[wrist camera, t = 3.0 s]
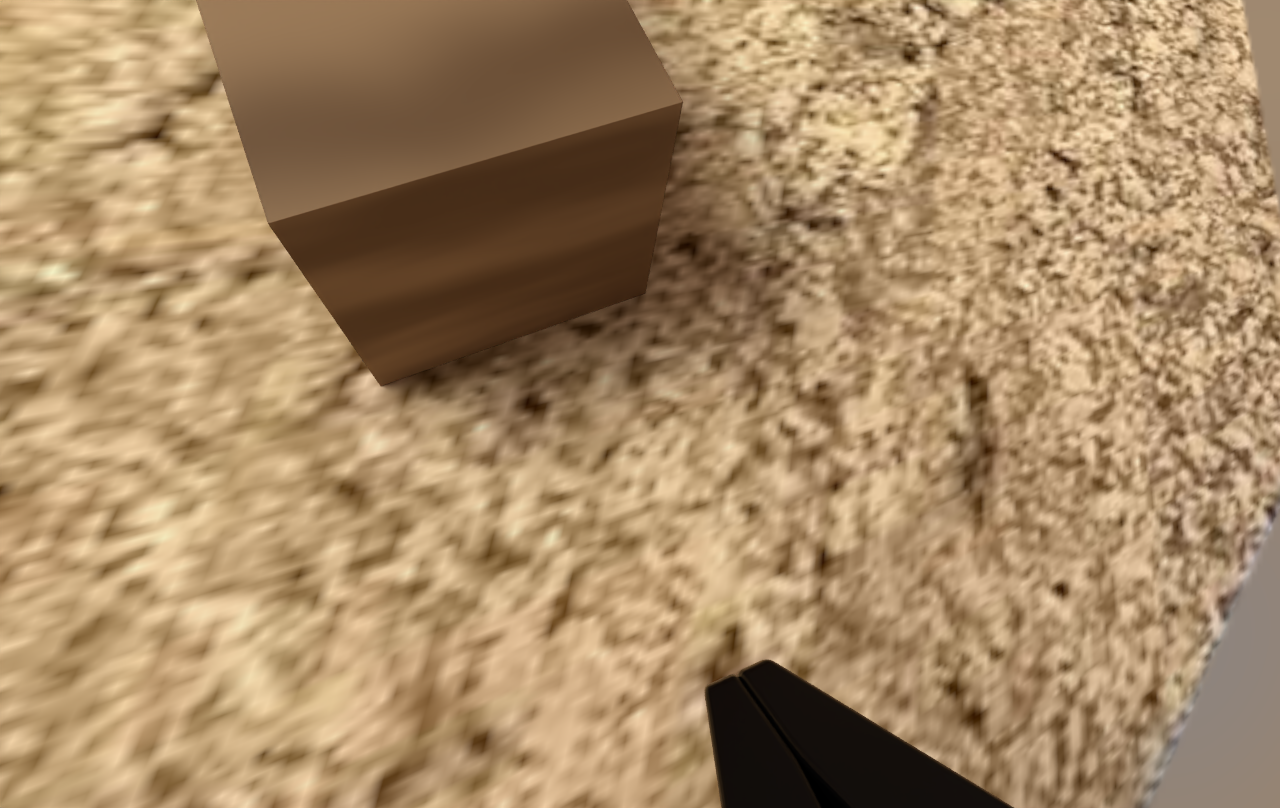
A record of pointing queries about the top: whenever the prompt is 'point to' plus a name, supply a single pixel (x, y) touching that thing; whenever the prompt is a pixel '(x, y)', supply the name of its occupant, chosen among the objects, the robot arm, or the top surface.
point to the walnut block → (451, 160)
